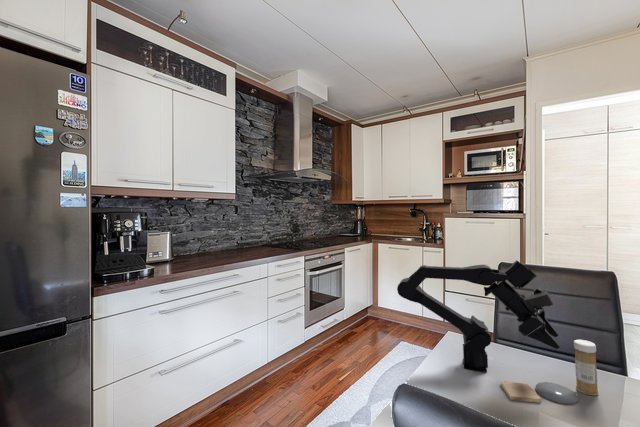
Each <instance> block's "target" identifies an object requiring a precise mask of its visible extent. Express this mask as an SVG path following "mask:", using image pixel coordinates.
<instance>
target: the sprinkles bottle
mask: <svg viewBox="0 0 640 427" xmlns="http://www.w3.org/2000/svg"><path fill="white" fill-rule="evenodd" d="M573 349H574V356H575V358H574V366H575V367H574V368H575V377H576V379H575V380H576V385H575V386H576V389H577V391H579V392H580V393H582V394H584V395H586V396H593V397H594V396H598V395H599V391H598V390H599V389H598V371H597V360H596V359H597V358H596V353H597V345H596V344H595V343H594V342H592V341H589V340H585V339H575V340H573Z"/></svg>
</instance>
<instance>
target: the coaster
mask: <svg viewBox="0 0 640 427" xmlns="http://www.w3.org/2000/svg"><path fill="white" fill-rule="evenodd" d="M535 392H537V393H538V394H539V395H540V396H541V397H543V398H545V399H547V400H549V401H552V402H555V403H557V404H562V405H575V404H577V403H579V396H578V395H577V393H576V392H574V390H571V389H570V388H569V387H566V386H564V385H560V384H559V383H555V382H554V383H553V382H547V381H541V382H538V383H536V384H535Z"/></svg>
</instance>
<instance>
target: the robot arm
mask: <svg viewBox="0 0 640 427" xmlns="http://www.w3.org/2000/svg"><path fill="white" fill-rule="evenodd" d="M537 277H538V275H537V274H535V273H534V272H533V271H532V270H531V269H530V268H528V267H527V266H525V265H523V263H521V262H520V261H518V260H515V261H514V262H513V263H512V264H511V265H510V266H509V267H507V268H506V269H505V270H504V271H503V270H502V269H494V268H491V267H490V266H489V265H487V264H476V265H475V264H474V265H469V266H464V267H460V266H459V267H457V266H456V267H455V266H437V265H436V266H435V265H434V266H433V265H432V266H430V265H420V266H419V267H418V268H417V270H416V271H414V272H413V273H412V274H411V275H410V276H409V277H405V278H403V279H401V280H400V282H399V283H398V285H397V294H398V295H399V297H401V298H403V299H405V300H408V301H409V302H413V303H416V304H420V305H421V306H423V307H424V308H426V309H428V310H429V311H430V312H432V313H434V314H435V315H437V316H438V317H439V318H441V319H442V320H444V321H446V322H447V323H449V324H451V325H452V326H453V327H456V328H457V329H458V330H459V331H460V332H461V333H462V338H463V339H462V340H463V343H462V357H463V358H462V363H463V370H470V371H475V372H476V371H477V372H482V373H483V372H484V373H487V372H488V368H489V360H488V353H487V351H486V348H487V347H489V346H490V345H491V343H492V337H491V333H490V331H489V328H488V326H486V324H485V322H484V321H482V320H480V319H478V318H477V317H475V315H471V317H466V316H464V315H462V314H460V313H459V312H458V311H455V310H454V309H452V308H450V306H447V305H446V304H445V303H443V302H441V301H440V300H438V299H437V298H435V297H433V296H431V295H430V294H428V293H427V292H426V291H425V290H424V289H423V288H422V287H421V286H420V285H421V284H422V283H423V281H424V280H426V279H435V280H436V279H437V280H439V279H440V280H452V281H453V280H454V281H465V282H469V283H472V284H476V285H480V286H483V290H484V297H488V296H489V295H490V294H491V295H493V296H494V298H496V299H497V300H498V301H499V302H501V304H502V305H503V306H504V307H505V308H504V309H505V311H507V312H509V311H510V313H511V314H512V315H514V316H515V317H516V320H517V321H518V332H520V334H521V335H522V336H524V337H527V338H530V339H533V340H535V341H538V342H540V343H542V344H544V345H547V346H548V347H551V348H553V349H556V350H557V349H559V348H560V347H561V346H560V344H558V342H557V341H556V340H555V339H554V338H557V337H558V336H559V334H558V333H557V330H555V328H554V327H553V326H552V324H551V323H550V322H549V319H548V318H547V317H546V310H545V308H544V307H551V306H553V305H554V302H553V299H552V297H551V295H550V294H549V292H548V291H546V290H544V291H543V290H542V289H541V288H535V289H533V294H530V295H528V296H526V294H524V293H519V292H518V290H516V289H517V288H519V289H520V288H521V289H524V288H525V287H526V286H528V285H529V284H531V282H532V281H534V280H535V279H536V278H537ZM507 281H508V282H509V283H510V284H511V285H510V284H509V283H508V282H507ZM497 282H498V283H497ZM512 286H513V287H514V288H513V287H512ZM553 337H554V338H553Z"/></svg>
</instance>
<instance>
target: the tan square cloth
mask: <svg viewBox="0 0 640 427" xmlns="http://www.w3.org/2000/svg"><path fill="white" fill-rule="evenodd" d="M500 386H501V387H502V389H503V390H504V392H505V394H506V395H507V396H508V398H509V400H510V401H517V402H519V401H520V402H526V403H528V402H530V403H539V404H541V403H542V399H541V397H540V396H539V395H538V394H537V393H536V391H535V390H534V389H533V388H532V386H531V385H530V384H529V383H525V382H511V381H500Z"/></svg>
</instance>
